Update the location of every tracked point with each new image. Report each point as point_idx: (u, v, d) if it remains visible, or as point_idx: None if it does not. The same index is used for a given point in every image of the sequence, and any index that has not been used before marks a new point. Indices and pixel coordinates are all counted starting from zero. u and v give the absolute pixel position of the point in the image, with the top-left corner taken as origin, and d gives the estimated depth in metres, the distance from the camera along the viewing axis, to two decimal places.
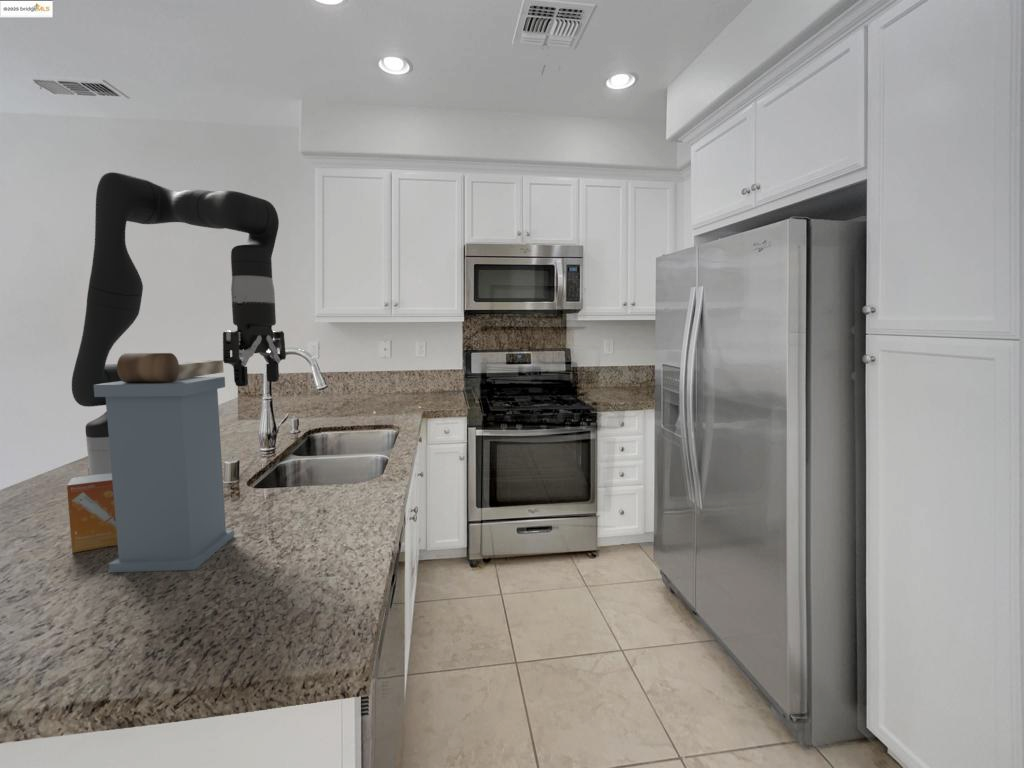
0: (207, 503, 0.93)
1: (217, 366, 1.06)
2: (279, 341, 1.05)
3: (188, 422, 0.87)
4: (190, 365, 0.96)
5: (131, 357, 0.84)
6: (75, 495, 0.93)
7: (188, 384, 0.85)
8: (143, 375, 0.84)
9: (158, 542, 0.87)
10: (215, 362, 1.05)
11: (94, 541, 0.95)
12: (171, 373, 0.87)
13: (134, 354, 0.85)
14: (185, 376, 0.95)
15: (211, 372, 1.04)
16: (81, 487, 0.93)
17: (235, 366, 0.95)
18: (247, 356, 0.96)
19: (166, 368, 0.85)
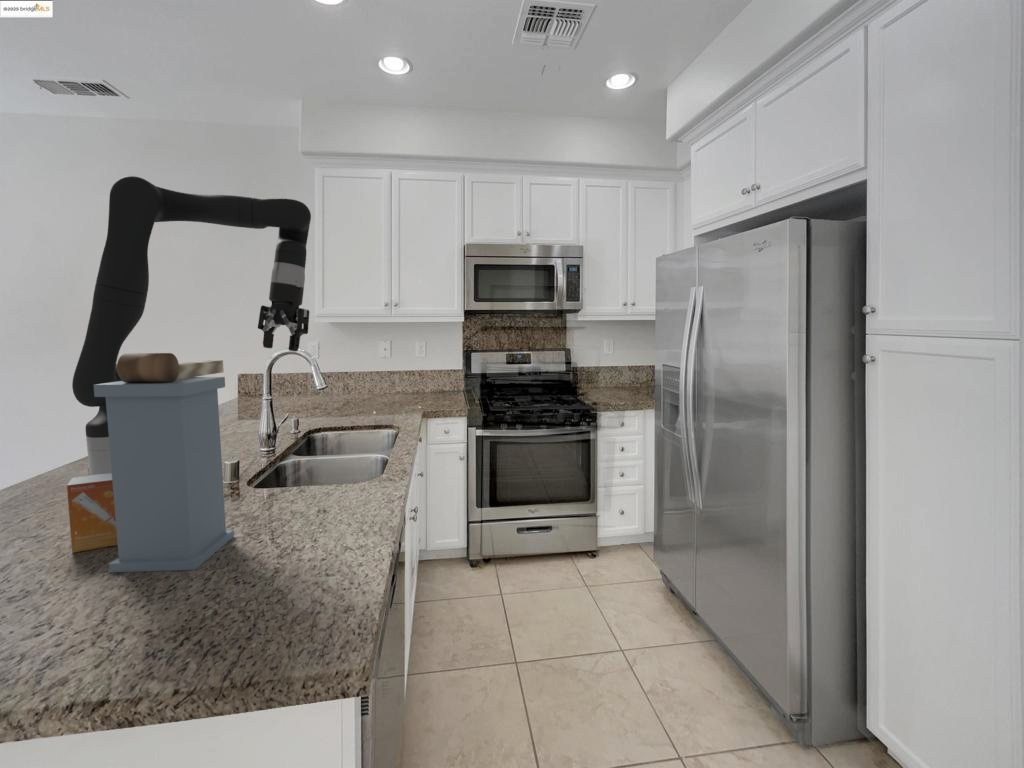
0: (207, 503, 0.93)
1: (217, 366, 1.06)
2: (270, 315, 1.28)
3: (188, 422, 0.87)
4: (190, 365, 0.96)
5: (131, 357, 0.84)
6: (75, 495, 0.93)
7: (188, 384, 0.85)
8: (143, 375, 0.84)
9: (158, 542, 0.87)
10: (215, 362, 1.05)
11: (94, 541, 0.95)
12: (171, 373, 0.87)
13: (134, 354, 0.85)
14: (185, 376, 0.95)
15: (211, 372, 1.04)
16: (81, 487, 0.93)
17: (297, 335, 1.23)
18: None
19: (166, 368, 0.85)
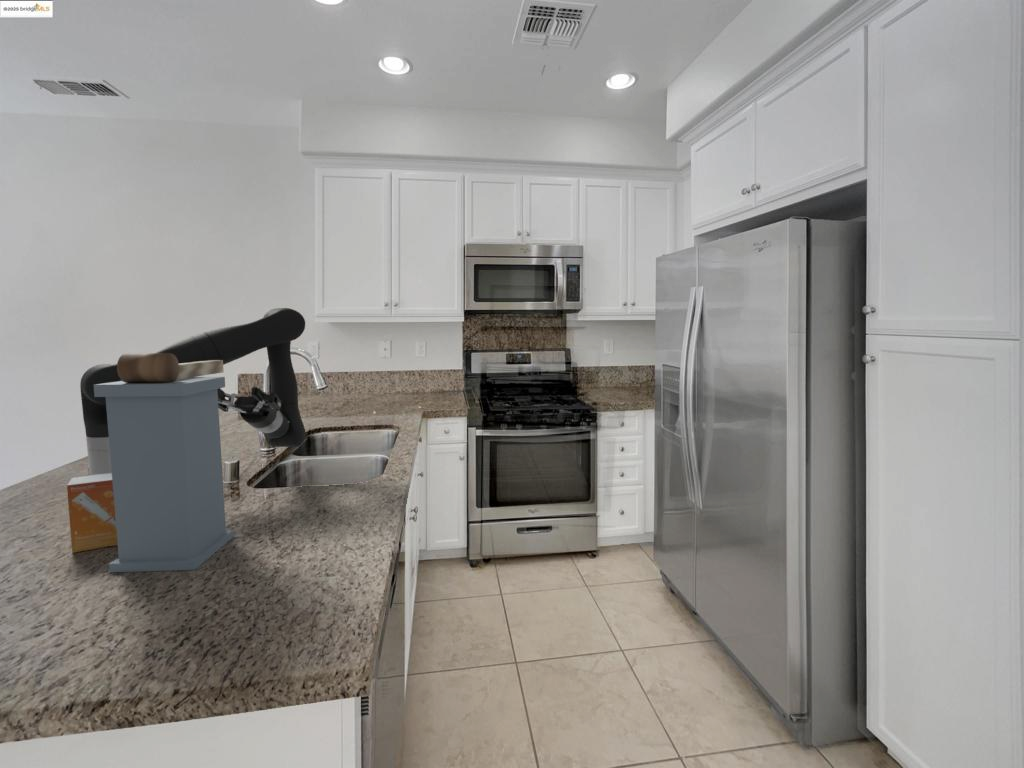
0: (207, 503, 0.93)
1: (217, 366, 1.06)
2: (224, 407, 1.23)
3: (188, 422, 0.87)
4: (190, 365, 0.96)
5: (131, 357, 0.84)
6: (75, 495, 0.93)
7: (188, 384, 0.85)
8: (143, 375, 0.84)
9: (158, 542, 0.87)
10: (215, 362, 1.05)
11: (94, 541, 0.95)
12: (171, 373, 0.87)
13: (134, 354, 0.85)
14: (185, 376, 0.95)
15: (211, 372, 1.04)
16: (81, 487, 0.93)
17: (265, 395, 1.20)
18: (260, 404, 1.21)
19: (166, 368, 0.85)
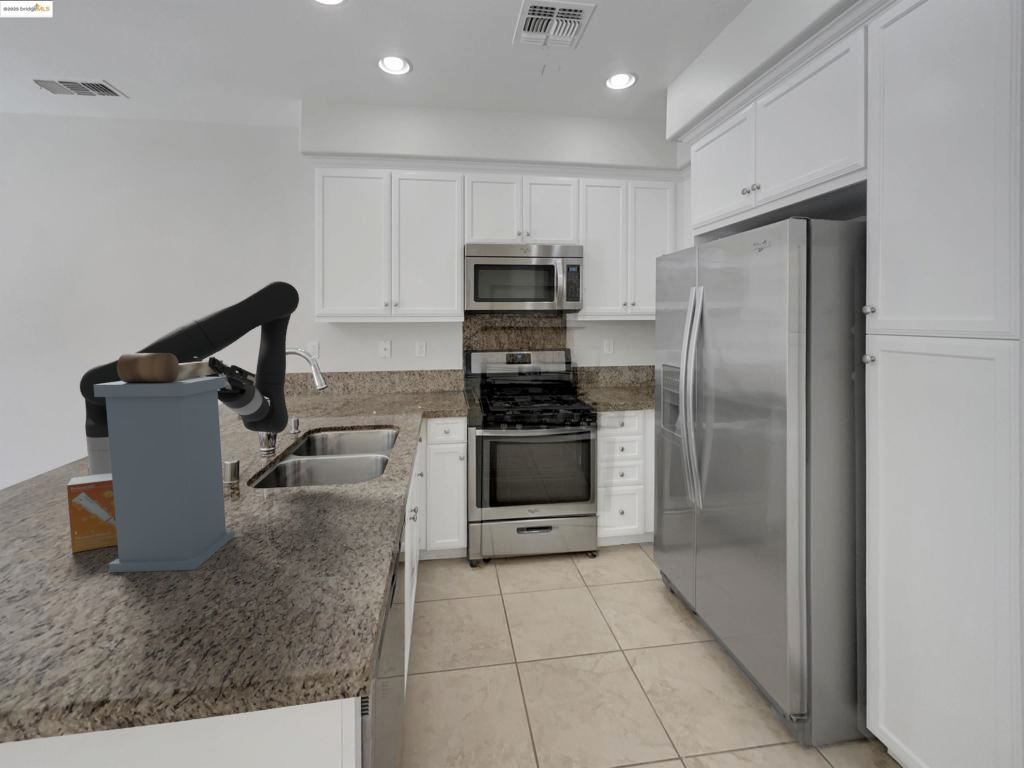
0: (207, 503, 0.93)
1: None
2: None
3: (188, 422, 0.87)
4: (190, 365, 0.96)
5: (131, 357, 0.84)
6: (75, 495, 0.93)
7: (188, 384, 0.85)
8: (143, 375, 0.84)
9: (158, 542, 0.87)
10: None
11: (94, 541, 0.95)
12: (171, 373, 0.87)
13: (134, 354, 0.85)
14: (185, 376, 0.95)
15: (211, 372, 1.04)
16: (81, 487, 0.93)
17: (225, 368, 1.07)
18: None
19: (165, 368, 0.85)
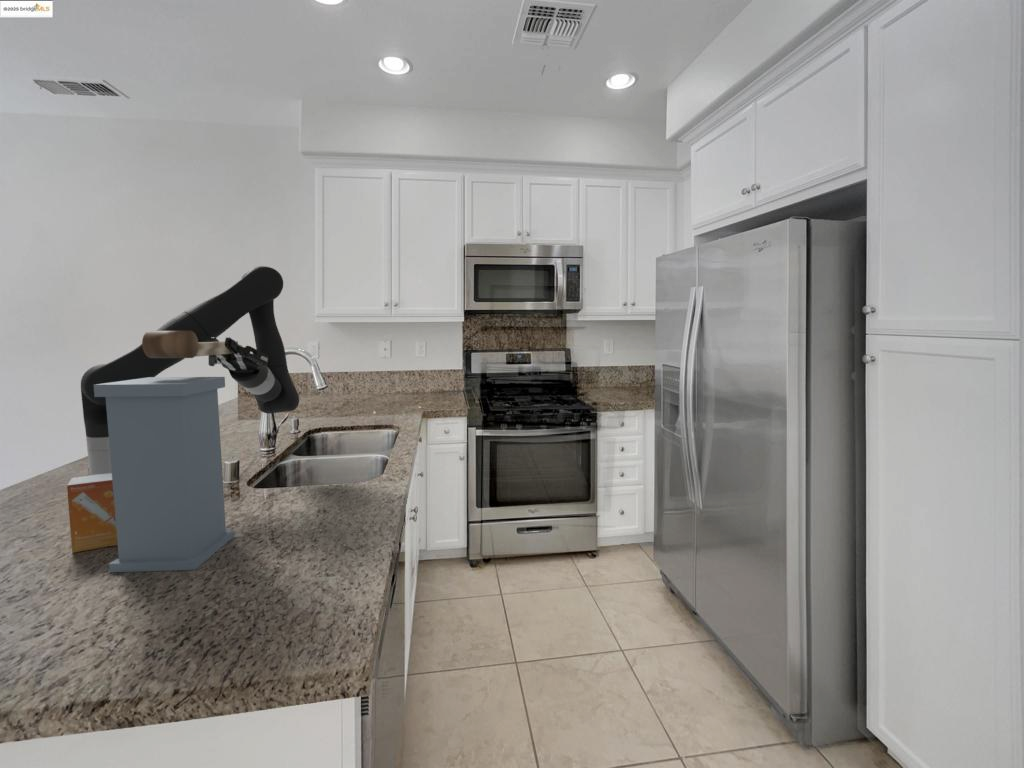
0: (207, 503, 0.93)
1: None
2: (214, 361, 1.17)
3: (188, 422, 0.87)
4: (208, 344, 1.03)
5: (155, 334, 0.91)
6: (75, 495, 0.93)
7: (188, 384, 0.85)
8: (166, 350, 0.91)
9: (158, 542, 0.87)
10: None
11: (94, 541, 0.95)
12: (191, 349, 0.93)
13: (157, 331, 0.92)
14: (203, 354, 1.01)
15: (227, 352, 1.11)
16: (81, 487, 0.93)
17: (240, 348, 1.14)
18: (239, 358, 1.15)
19: (186, 345, 0.92)
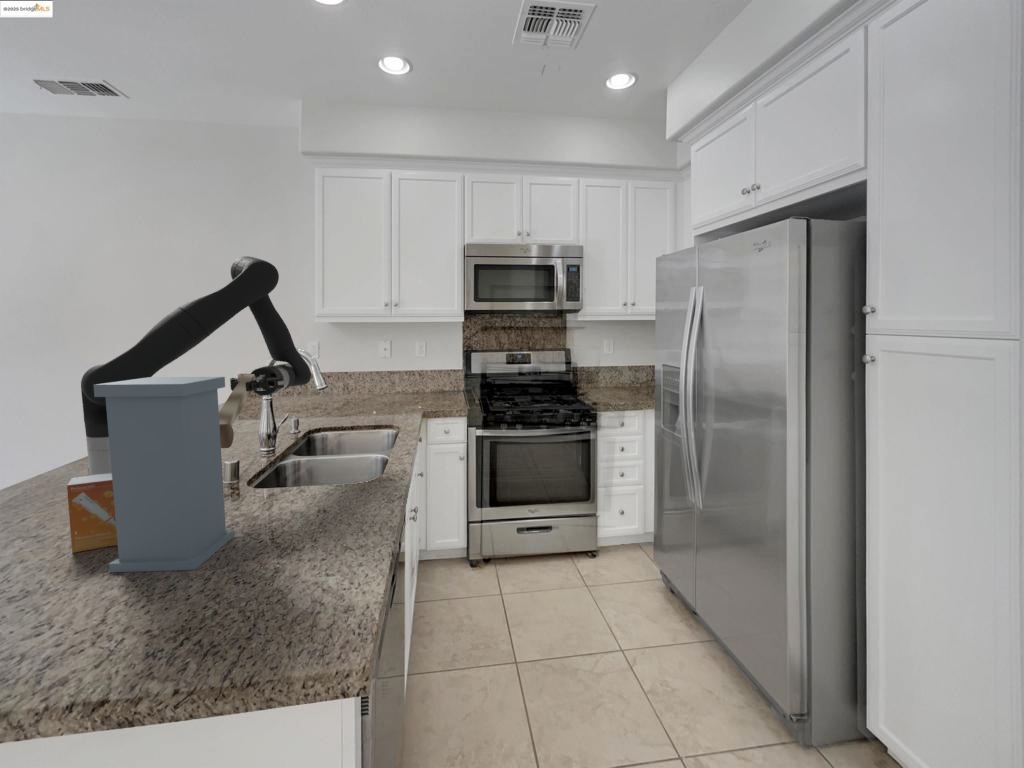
0: (207, 503, 0.93)
1: None
2: None
3: (188, 422, 0.87)
4: (235, 406, 1.14)
5: None
6: (75, 495, 0.93)
7: (188, 384, 0.85)
8: None
9: (158, 542, 0.87)
10: None
11: (94, 541, 0.95)
12: (229, 439, 1.07)
13: None
14: (234, 418, 1.14)
15: (249, 393, 1.21)
16: (81, 487, 0.93)
17: (259, 384, 1.23)
18: None
19: (225, 440, 1.05)
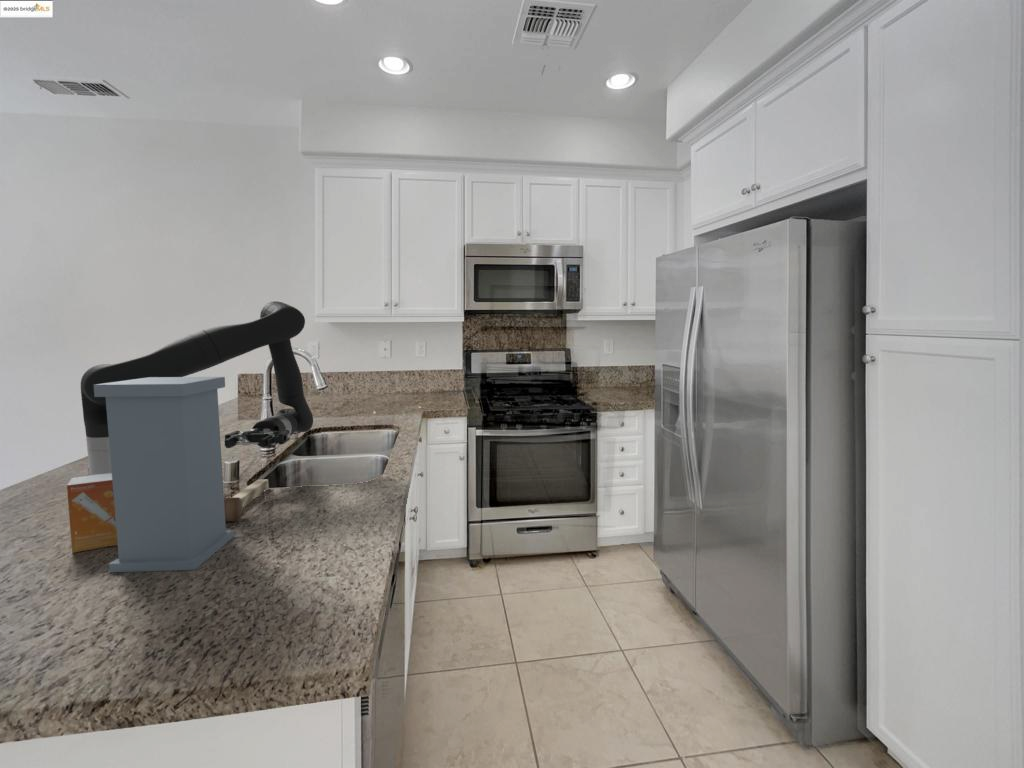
0: (207, 503, 0.93)
1: (264, 486, 1.30)
2: (237, 440, 1.29)
3: (188, 422, 0.87)
4: (247, 495, 1.20)
5: None
6: (75, 495, 0.93)
7: (188, 384, 0.85)
8: None
9: (158, 542, 0.87)
10: (263, 484, 1.29)
11: (94, 541, 0.95)
12: (237, 513, 1.10)
13: None
14: None
15: (260, 493, 1.27)
16: (81, 487, 0.93)
17: (274, 439, 1.26)
18: None
19: (234, 511, 1.09)
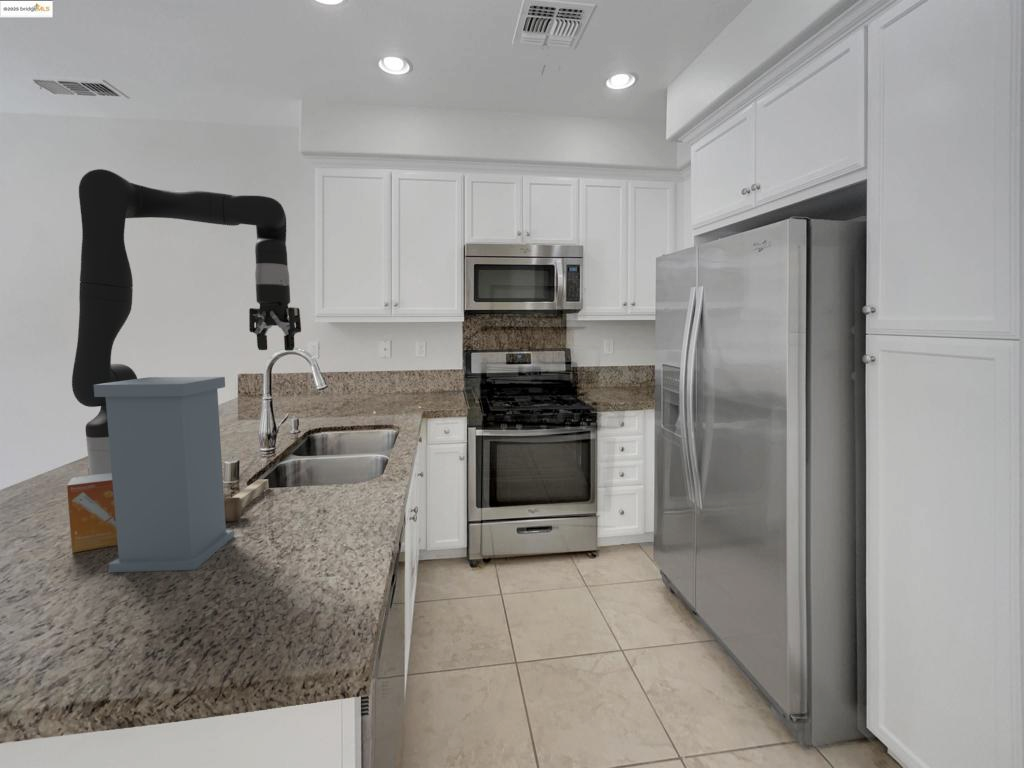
0: (207, 503, 0.93)
1: (264, 486, 1.30)
2: (259, 317, 1.28)
3: (188, 422, 0.87)
4: (247, 495, 1.20)
5: None
6: (75, 495, 0.93)
7: (188, 384, 0.85)
8: None
9: (158, 542, 0.87)
10: (263, 484, 1.29)
11: (94, 541, 0.95)
12: (237, 513, 1.10)
13: None
14: None
15: (260, 493, 1.27)
16: (81, 487, 0.93)
17: (291, 335, 1.24)
18: None
19: (234, 511, 1.09)
